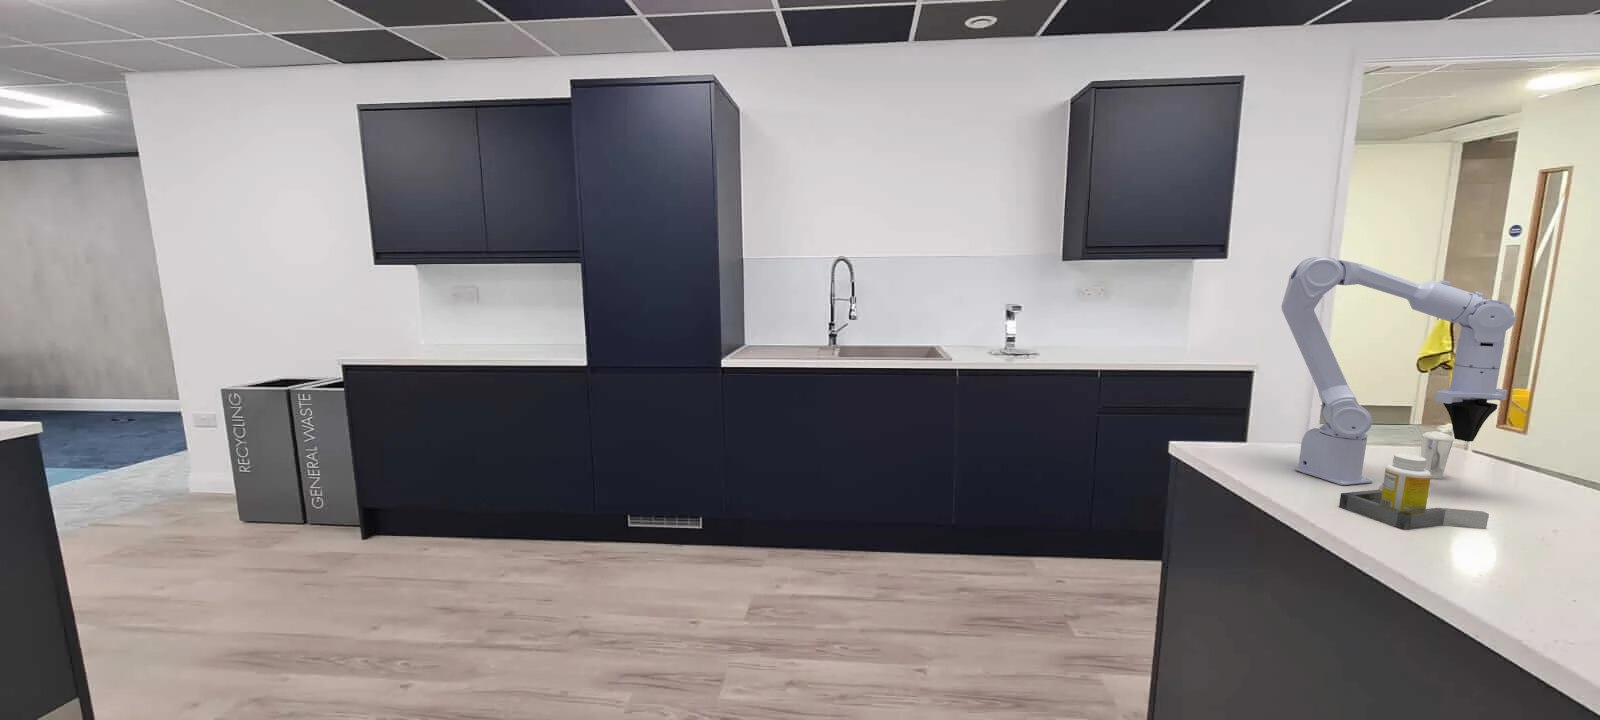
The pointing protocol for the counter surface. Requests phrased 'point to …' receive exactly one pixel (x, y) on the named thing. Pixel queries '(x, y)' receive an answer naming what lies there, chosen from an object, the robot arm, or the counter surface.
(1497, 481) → the counter surface
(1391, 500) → the supplement bottle
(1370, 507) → the grey angular open frame
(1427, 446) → the milkshake
